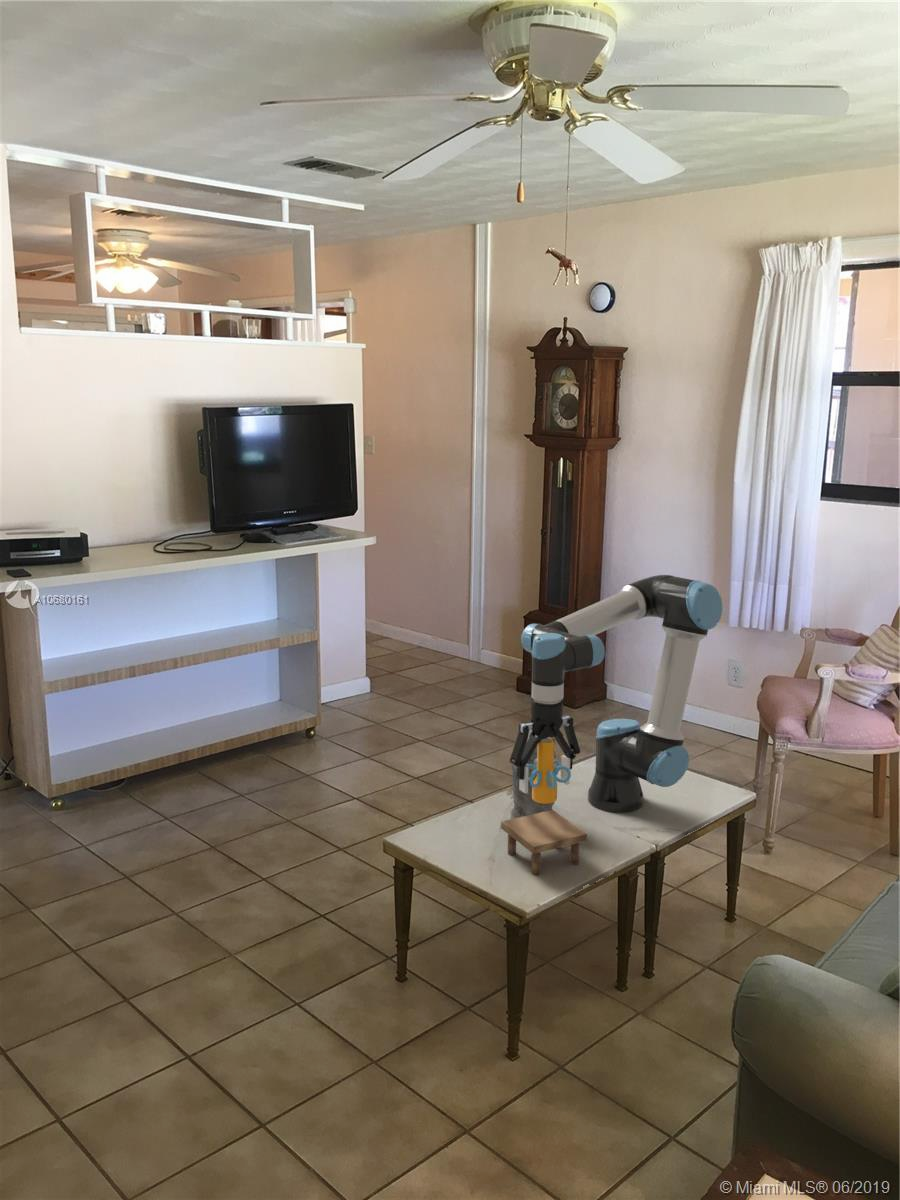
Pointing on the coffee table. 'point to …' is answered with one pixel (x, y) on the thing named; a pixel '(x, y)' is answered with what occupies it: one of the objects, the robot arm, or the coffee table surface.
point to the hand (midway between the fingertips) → (544, 786)
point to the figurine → (524, 801)
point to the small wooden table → (543, 835)
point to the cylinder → (546, 773)
